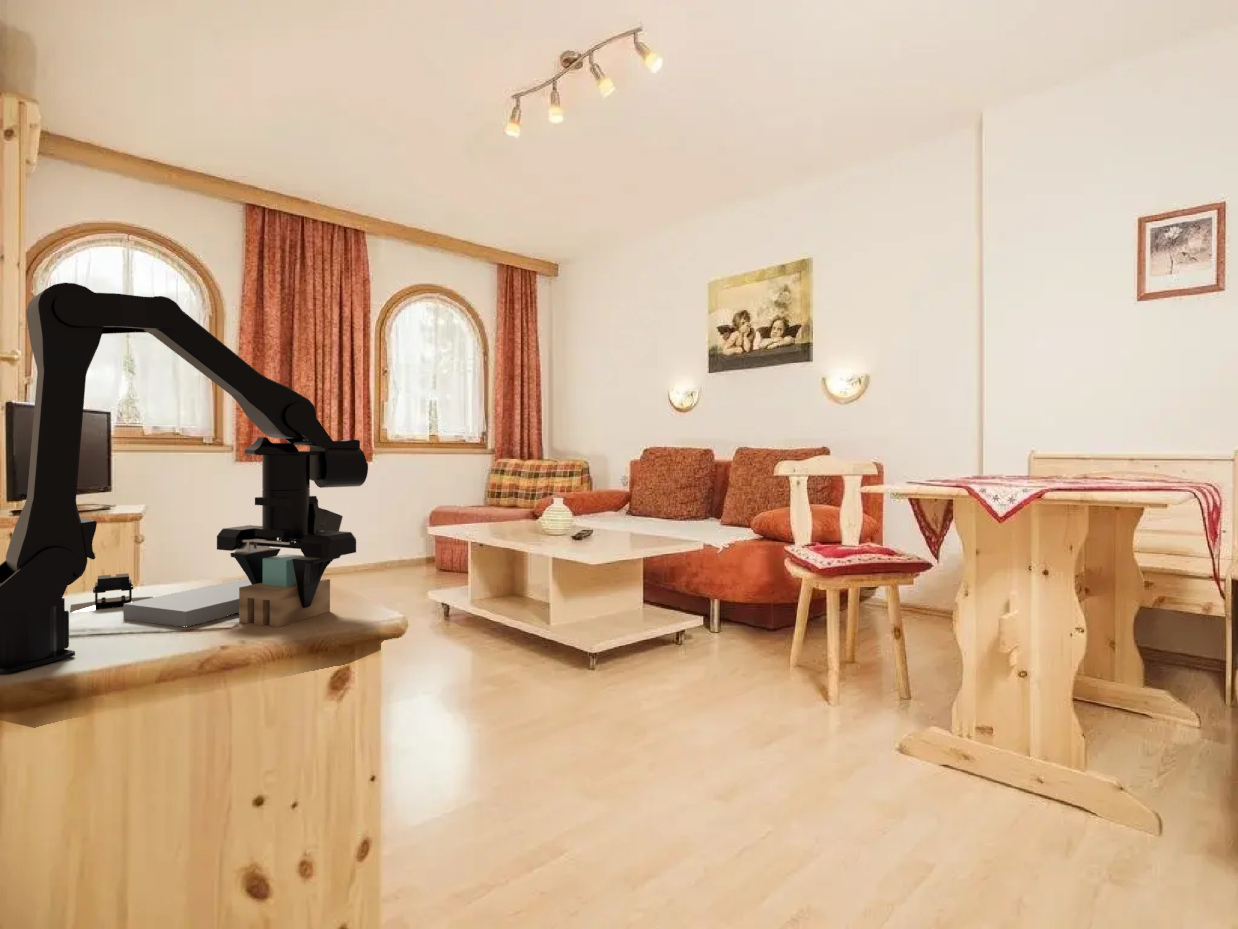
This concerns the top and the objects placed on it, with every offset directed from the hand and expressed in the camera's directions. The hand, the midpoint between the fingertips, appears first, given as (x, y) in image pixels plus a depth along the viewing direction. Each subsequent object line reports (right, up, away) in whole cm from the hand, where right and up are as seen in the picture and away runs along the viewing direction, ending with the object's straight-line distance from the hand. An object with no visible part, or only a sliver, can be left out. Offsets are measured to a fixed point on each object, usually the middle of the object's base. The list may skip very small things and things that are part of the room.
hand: (286, 605), depth 92 cm
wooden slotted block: (0, -2, 0) cm, 2 cm away
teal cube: (0, +3, 0) cm, 3 cm away
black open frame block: (-27, -2, +5) cm, 28 cm away
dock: (-12, -1, +4) cm, 13 cm away
